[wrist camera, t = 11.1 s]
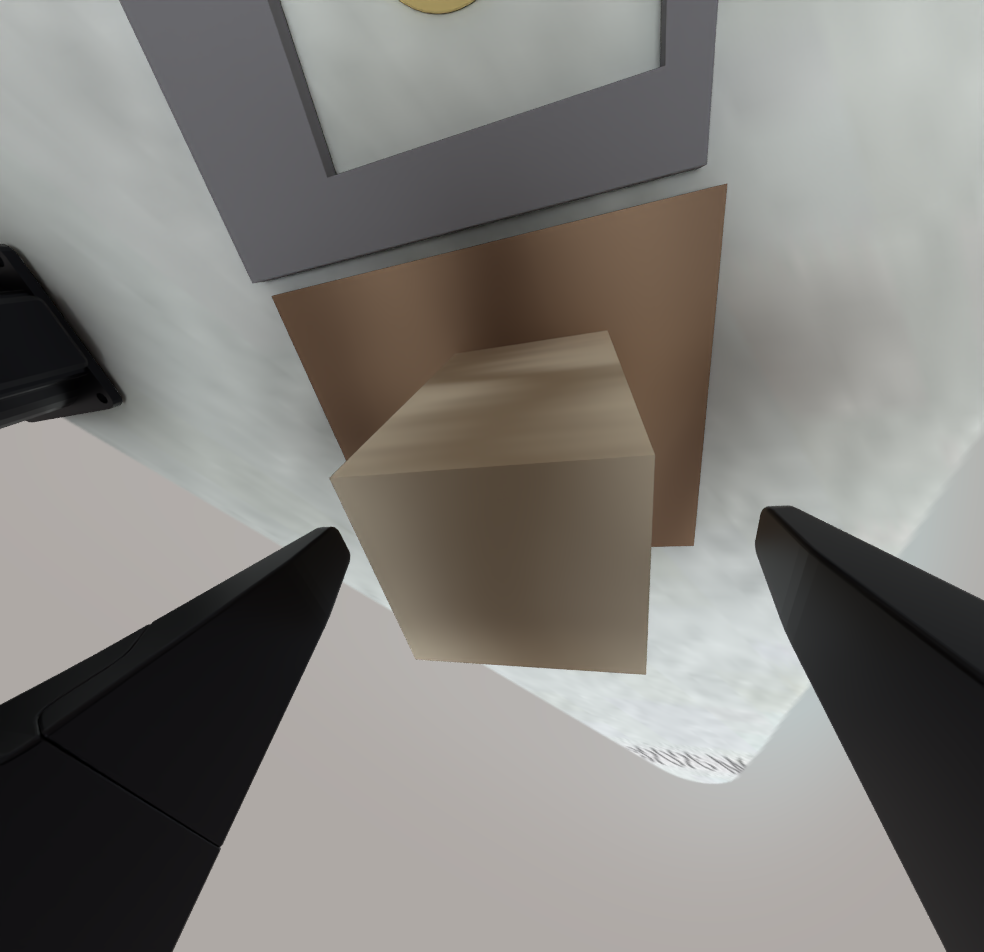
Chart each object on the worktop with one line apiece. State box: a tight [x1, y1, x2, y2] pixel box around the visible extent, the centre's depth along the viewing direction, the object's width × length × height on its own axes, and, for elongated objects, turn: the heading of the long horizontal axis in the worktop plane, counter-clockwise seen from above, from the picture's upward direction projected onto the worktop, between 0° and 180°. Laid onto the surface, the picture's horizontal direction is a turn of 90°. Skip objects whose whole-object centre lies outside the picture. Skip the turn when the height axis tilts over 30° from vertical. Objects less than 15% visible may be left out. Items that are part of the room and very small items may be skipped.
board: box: [272, 184, 727, 547], centre depth 14 cm, size 14×12×1 cm
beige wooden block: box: [330, 331, 655, 675], centre depth 10 cm, size 5×5×8 cm
